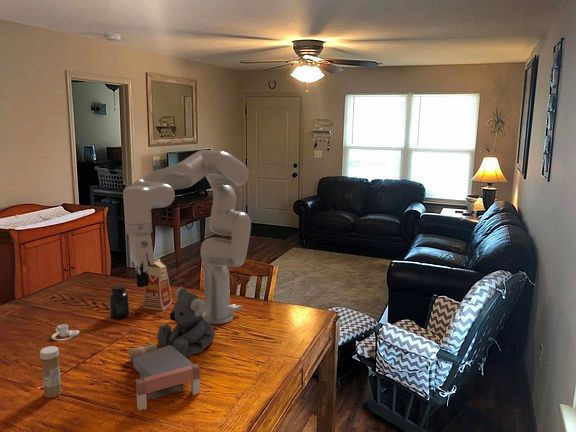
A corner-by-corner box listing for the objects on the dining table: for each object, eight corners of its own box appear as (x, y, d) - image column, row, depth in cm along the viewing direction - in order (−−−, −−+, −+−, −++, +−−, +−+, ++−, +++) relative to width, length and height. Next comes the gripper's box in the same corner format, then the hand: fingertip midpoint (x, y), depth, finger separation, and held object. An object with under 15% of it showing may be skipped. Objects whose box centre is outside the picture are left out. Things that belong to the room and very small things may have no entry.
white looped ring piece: (83, 334, 172) (82, 324, 171) (64, 344, 165) (63, 332, 164) (65, 329, 175) (64, 319, 175) (46, 338, 168) (45, 327, 168)
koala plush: (154, 342, 166) (152, 288, 162) (202, 329, 176) (201, 278, 172) (175, 363, 152) (172, 305, 148) (225, 348, 163) (224, 293, 159)
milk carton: (163, 310, 193) (161, 262, 189) (142, 308, 195) (139, 260, 191) (173, 302, 202) (171, 255, 198) (152, 300, 203) (150, 254, 199)
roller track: (157, 352, 159) (156, 340, 158) (183, 389, 138) (183, 376, 137) (126, 360, 154) (125, 348, 153) (148, 400, 132) (147, 386, 132)
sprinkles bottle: (41, 394, 135) (36, 349, 132) (57, 387, 138) (53, 343, 135) (48, 400, 132) (44, 355, 129) (65, 393, 135) (61, 349, 132)
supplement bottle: (110, 314, 189) (108, 284, 186) (129, 312, 191) (127, 283, 188) (110, 321, 182) (108, 290, 180) (129, 318, 184) (127, 289, 182)
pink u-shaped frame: (197, 389, 138) (196, 363, 136) (200, 392, 136) (199, 366, 135) (137, 407, 129) (135, 379, 128) (139, 411, 128) (137, 383, 126)
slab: (170, 353, 149) (170, 344, 148) (194, 374, 139) (194, 364, 139) (133, 366, 141) (133, 357, 141) (156, 389, 131) (156, 380, 131)
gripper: (158, 231, 140) (162, 291, 144) (144, 221, 152) (148, 276, 156) (132, 234, 136) (136, 296, 140) (120, 224, 148) (124, 280, 152)
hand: (142, 285), depth 148 cm, fingers closed
